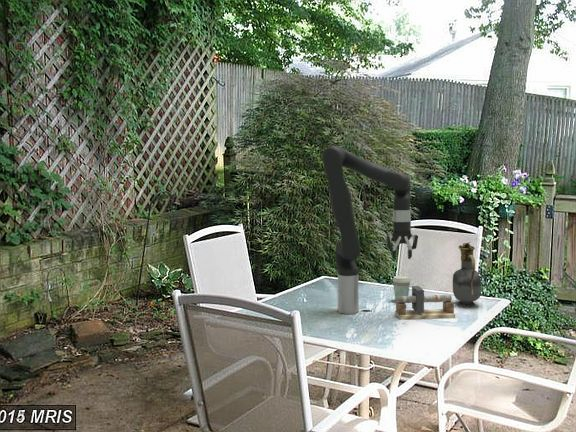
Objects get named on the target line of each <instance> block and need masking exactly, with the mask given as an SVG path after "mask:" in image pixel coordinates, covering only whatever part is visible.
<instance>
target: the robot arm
mask: <svg viewBox="0 0 576 432" xmlns="http://www.w3.org/2000/svg"><path fill="white" fill-rule="evenodd" d="M321 159H322V163H323V167H324V170H325V174H326V178H327V179H326V180H327V186H328V187H327V188H328V193H329V200H330V207H331V211H332V214H333V217H334V220H335V222H336V224H337V226H338V229H339V231H340V232H339V233H340V238H341V239H339V240H338V241H337V244H336V245H335V266H336V270H337V295H336V297H337V299H336V300H337V311H338V314H346V315H352V314H353V315H354V314H357V313H359V312H360V311H359V310H360V308H359V307H360V305H359V302H360V301H359V298H360V297H359V294H360V293H359V267H358V266H357V264H356V260H357V259H358V258H359V257H360V255H361V251H362V250H361V249H362V248H361V244H360V240H359V237H358V233H357V229H356V222H355V216H354V215H355V214H354V209H353V202H352V197H351V192H350V190H349V187H348V185H347V183H346V180H345V177H344V169H343V168H347V169H349V170H353V171H354V172H357V173H359V174H360V175H362V176H363V177H366V178H368V179H370V180H372V181H375V182H378V183H380V184H383V185H386V186H388V187H390V188H392V189H393V190H394V197H393V212H392V213H393V214H392V234H389V235H385V241H386V247H387V249H388V250H390V251H391V258H392V259H393V260H396V259H397V248H398V246H399V245H400V244H401V245H402V244H405V245H406V246H407V259H408V260H411V258H412V257H413V250H415V249H417V247H418V239H419V235H417V234H413V233H412V230H411V229H412V228H411V225H412V224H411V221H412V220H411V219H412V218H411V216H412V215H411V214H412V213H411V198H410V197H411V196H410V195H411V185H412V184H411V182H412V181H411V178H410V177H409V175H408V174H405V173H399V172H397V171H395V170H391V169H389V168H388V167H386V166H383V165H381V164H379V163H376V162H372V161H369V160H367V159H364V158H362V157H359V156H357V155H355V154H353V153H352V152H349V151H348V150H346V149H344V148H343V147H341V146H339V145H331V146H329V147H328V146H327V148H325V149H324V150H323V152H322V157H321ZM392 238H393V240H394V242H393V244H392V243H391V241H392ZM411 239H412V240H413V241H412V245H411V243H410V242H411V241H410V240H411Z"/></svg>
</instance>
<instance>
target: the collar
mask: <svg viewBox="0 0 576 432" xmlns="http://www.w3.org/2000/svg"><path fill="white" fill-rule="evenodd" d="M411 296H416V303H411V308H412V310H415V311H416V312H417V313H424V310H425V302H424V296H425V290H424V288H422V287H420V286H419V285H412V286H411Z"/></svg>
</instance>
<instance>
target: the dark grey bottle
mask: <svg viewBox="0 0 576 432" xmlns="http://www.w3.org/2000/svg"><path fill="white" fill-rule="evenodd" d="M470 243H471V241H469V242H463V243H462V244H461V245H458V247H457V248H458V250H460V263H461V265H460V266H461V267H460V269H457V270H456V271H455V272H454V273H453V274H452V294H453V296H454V298H455V299H456V300H458V302H457V303H458V305H459V306H461V307H474V306H475V305H476V304H475V301H477V300H479V299H480V298H481V295H482V279H481V276H480V273H479V272H478V271H477V270H476V259H475V257H474V251H475V249H476V247H475V246H473V245H471V244H470Z"/></svg>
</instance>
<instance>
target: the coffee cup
mask: <svg viewBox="0 0 576 432" xmlns="http://www.w3.org/2000/svg"><path fill="white" fill-rule="evenodd" d="M392 282H393V290H394V291H393V292H394V299H395V300H394V301H395V303H396V302H398V296H410V295H409V293H410V285H411V284H410V283H411V278H410V276H408V275H394V276H393V278H392Z"/></svg>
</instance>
